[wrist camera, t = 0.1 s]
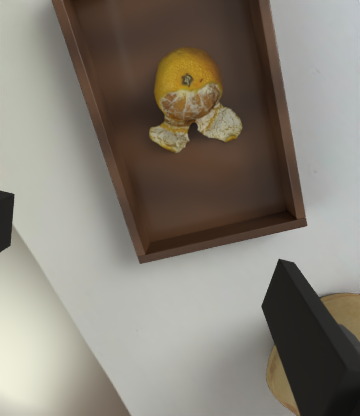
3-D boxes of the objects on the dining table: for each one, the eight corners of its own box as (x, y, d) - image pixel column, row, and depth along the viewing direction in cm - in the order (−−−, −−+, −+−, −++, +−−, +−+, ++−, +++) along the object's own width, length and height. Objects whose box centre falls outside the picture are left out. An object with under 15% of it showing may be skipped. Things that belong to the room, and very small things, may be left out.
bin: (61, -12, 25) (41, -32, 22) (243, -77, 23) (251, -110, 20) (145, 250, 31) (139, 264, 28) (295, 215, 29) (307, 226, 26)
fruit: (156, 156, 28) (150, 160, 24) (135, 62, 26) (125, 52, 22) (243, 138, 27) (250, 139, 23) (229, 39, 25) (234, 25, 21)
